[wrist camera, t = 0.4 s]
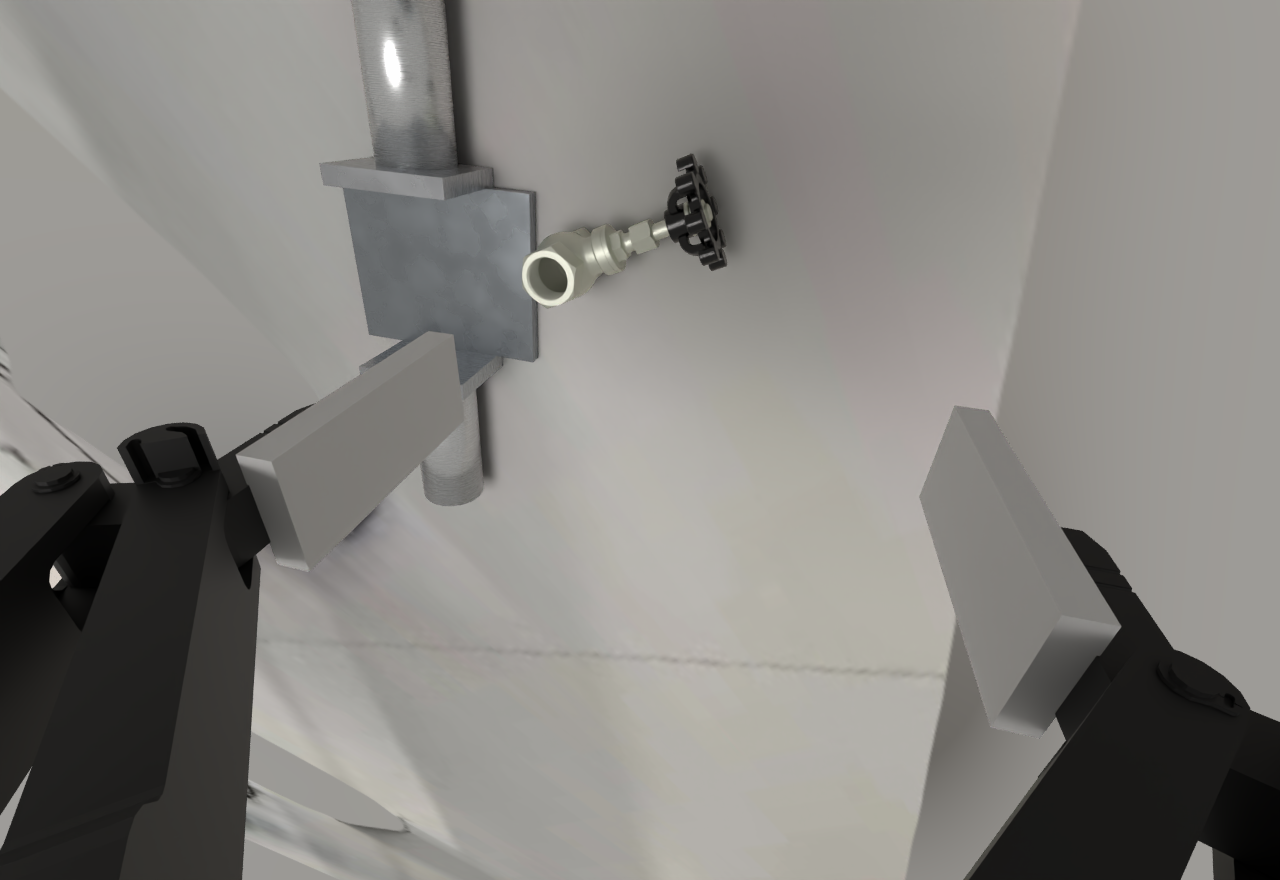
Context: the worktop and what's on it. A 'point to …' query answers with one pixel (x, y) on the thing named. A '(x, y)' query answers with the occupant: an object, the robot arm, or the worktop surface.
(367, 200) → the pipe run
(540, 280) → the valve
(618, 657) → the worktop surface
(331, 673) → the worktop surface
